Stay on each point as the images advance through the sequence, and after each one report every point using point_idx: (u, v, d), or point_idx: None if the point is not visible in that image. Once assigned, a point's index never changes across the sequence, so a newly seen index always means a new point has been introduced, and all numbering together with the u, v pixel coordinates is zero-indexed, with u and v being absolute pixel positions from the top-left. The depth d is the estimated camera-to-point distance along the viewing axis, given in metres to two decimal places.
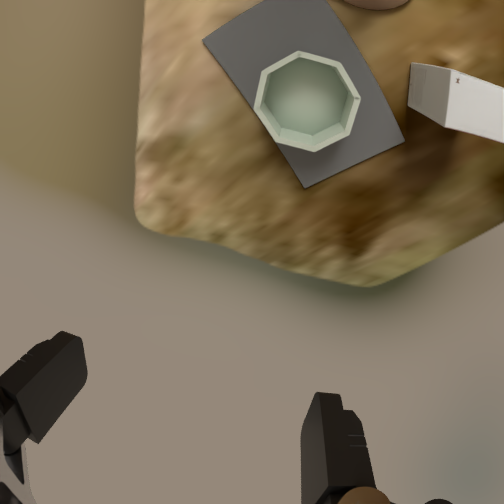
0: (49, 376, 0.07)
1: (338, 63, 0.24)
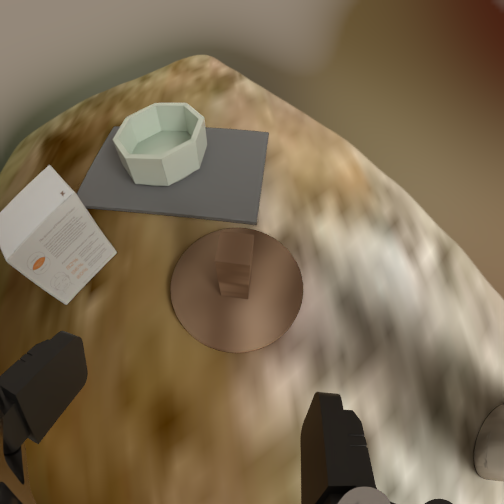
0: (49, 376, 0.07)
1: (161, 157, 0.29)
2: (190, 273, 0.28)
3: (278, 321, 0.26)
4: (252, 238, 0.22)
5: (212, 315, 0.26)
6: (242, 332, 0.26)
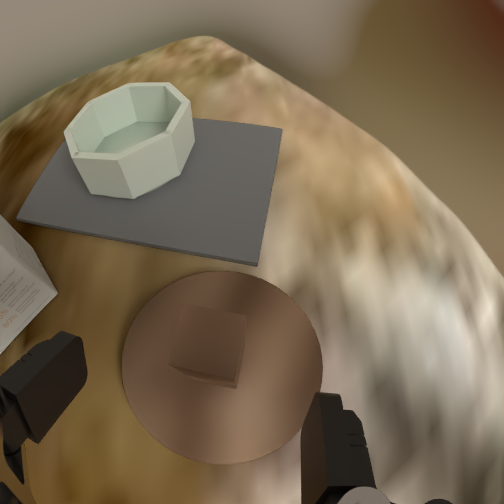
0: (49, 376, 0.07)
1: (118, 157, 0.18)
2: (151, 339, 0.17)
3: (280, 424, 0.15)
4: (242, 322, 0.11)
5: (180, 409, 0.16)
6: (224, 438, 0.15)
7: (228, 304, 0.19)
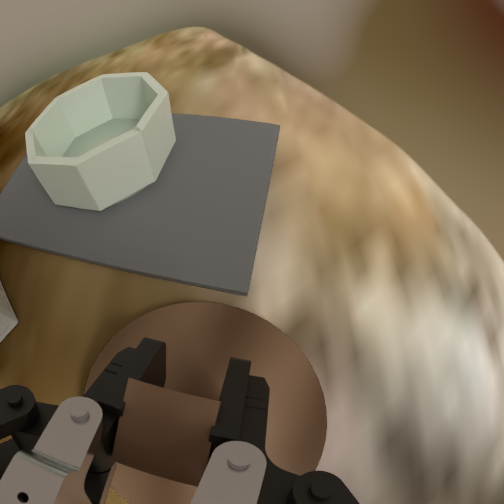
0: None
1: (77, 162, 0.14)
2: None
3: None
4: (214, 412, 0.07)
5: None
6: None
7: (208, 345, 0.14)
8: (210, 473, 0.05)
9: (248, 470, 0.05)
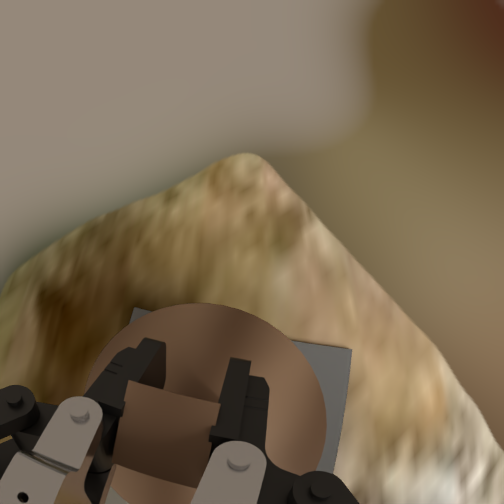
0: (144, 384, 0.08)
1: None
2: None
3: None
4: (214, 414, 0.07)
5: None
6: None
7: (208, 346, 0.14)
8: (210, 473, 0.05)
9: (248, 470, 0.05)
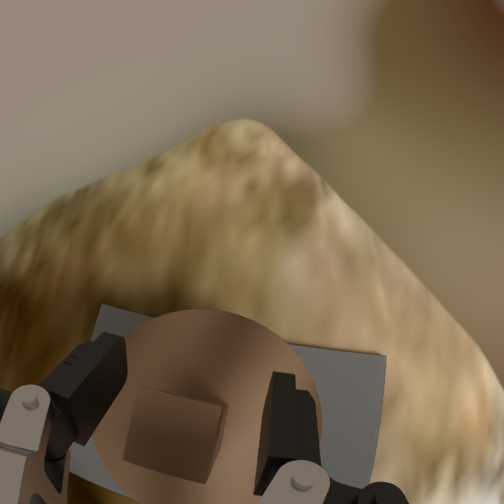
0: (97, 377, 0.08)
1: None
2: None
3: None
4: (216, 416, 0.07)
5: None
6: (207, 501, 0.11)
7: (210, 350, 0.15)
8: (277, 496, 0.05)
9: (314, 489, 0.05)
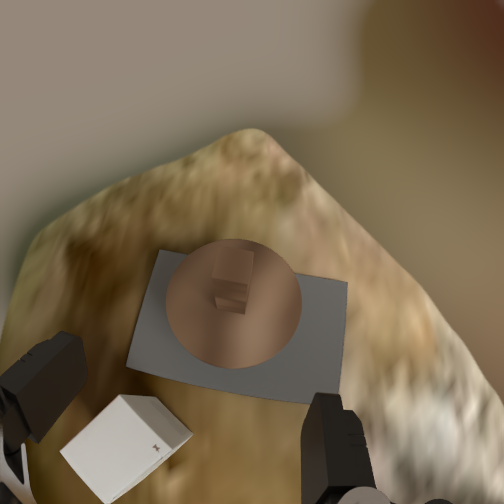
0: (49, 376, 0.07)
1: None
2: (187, 283, 0.27)
3: (274, 339, 0.25)
4: (252, 255, 0.21)
5: (206, 328, 0.25)
6: (236, 348, 0.25)
7: None
8: None
9: None
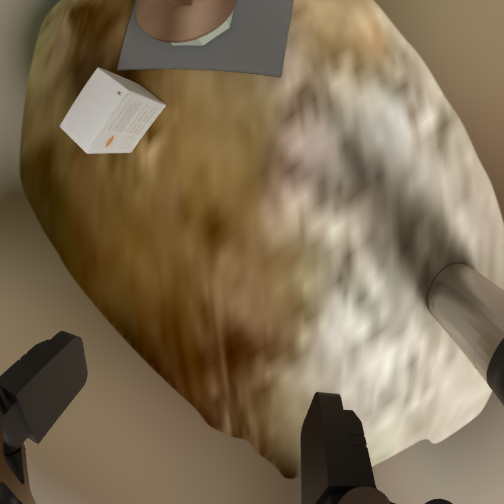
0: (49, 376, 0.07)
1: None
2: None
3: (213, 16, 0.26)
4: None
5: (164, 19, 0.26)
6: (184, 26, 0.26)
7: None
8: None
9: None
